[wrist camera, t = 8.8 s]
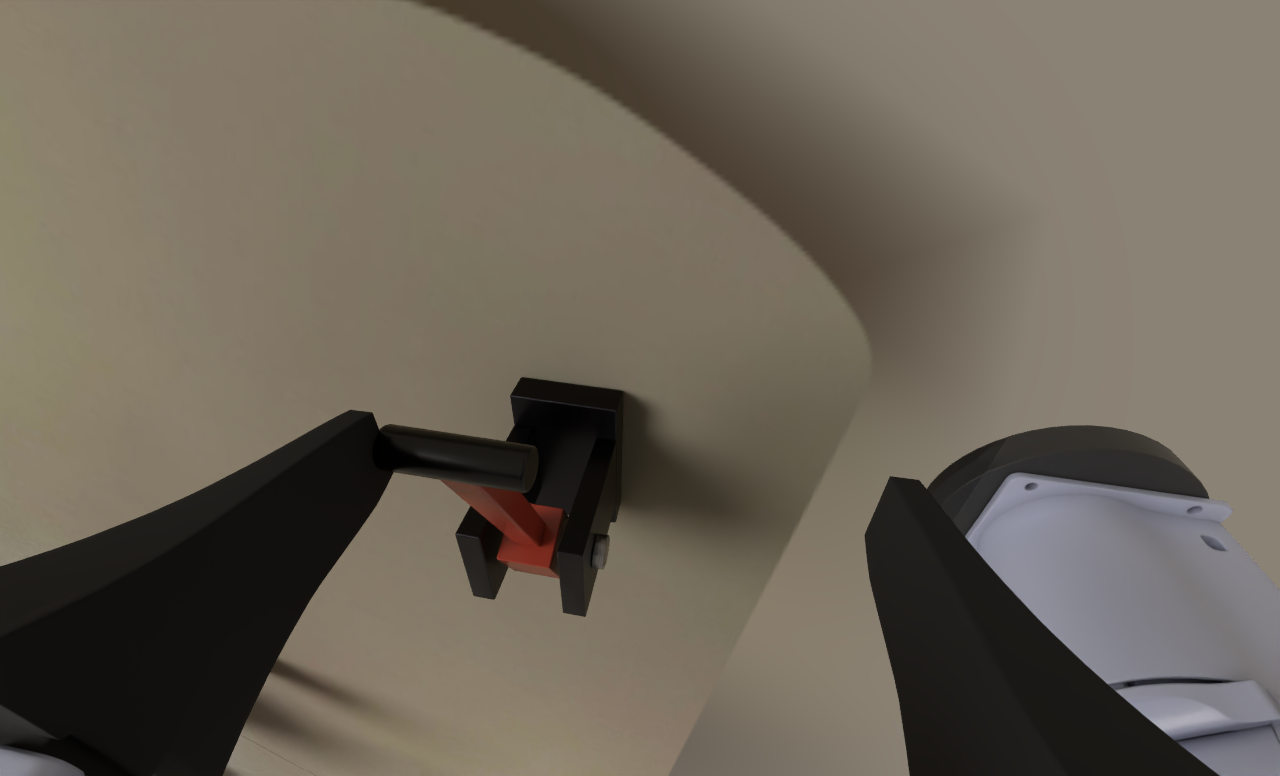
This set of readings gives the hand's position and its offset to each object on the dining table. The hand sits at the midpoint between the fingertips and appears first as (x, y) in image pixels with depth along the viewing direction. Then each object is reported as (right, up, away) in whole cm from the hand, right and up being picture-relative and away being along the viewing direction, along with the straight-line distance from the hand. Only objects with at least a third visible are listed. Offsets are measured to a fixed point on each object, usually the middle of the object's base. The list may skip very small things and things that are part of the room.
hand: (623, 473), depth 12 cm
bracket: (-3, -1, +14) cm, 15 cm away
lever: (-4, -1, +6) cm, 7 cm away
